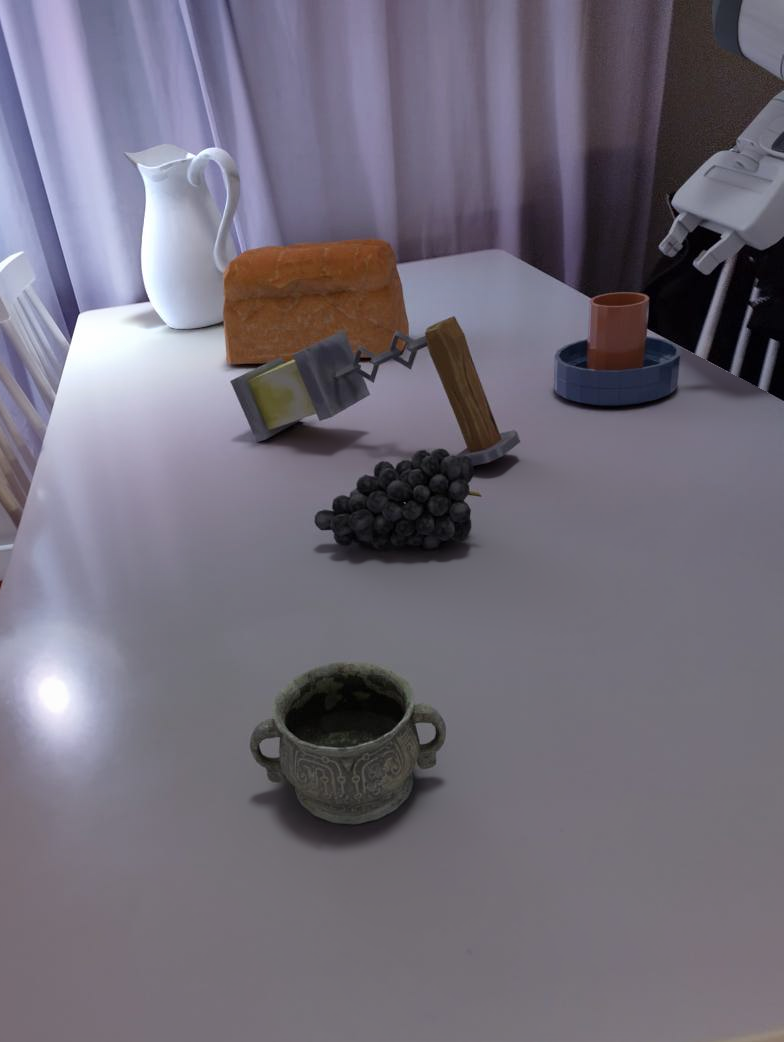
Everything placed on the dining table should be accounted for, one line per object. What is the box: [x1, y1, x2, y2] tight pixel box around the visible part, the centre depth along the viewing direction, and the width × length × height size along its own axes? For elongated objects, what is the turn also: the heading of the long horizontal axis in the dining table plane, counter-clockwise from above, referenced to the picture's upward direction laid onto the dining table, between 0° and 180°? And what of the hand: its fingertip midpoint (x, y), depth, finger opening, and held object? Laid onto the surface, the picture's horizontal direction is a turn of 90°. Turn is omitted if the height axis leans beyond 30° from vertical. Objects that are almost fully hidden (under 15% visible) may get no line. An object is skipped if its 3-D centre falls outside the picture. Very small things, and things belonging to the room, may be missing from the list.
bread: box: [223, 238, 410, 366], centre depth 138 cm, size 14×27×15 cm, turn 77°
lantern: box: [229, 315, 521, 467], centre depth 104 cm, size 8×17×30 cm
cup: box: [587, 291, 650, 370], centre depth 110 cm, size 6×6×10 cm
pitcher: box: [123, 143, 241, 330], centre depth 158 cm, size 24×17×28 cm
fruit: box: [314, 448, 483, 551], centre depth 84 cm, size 9×8×15 cm
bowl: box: [553, 335, 682, 407], centre depth 112 cm, size 14×14×4 cm
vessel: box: [249, 661, 447, 826], centre depth 57 cm, size 12×9×6 cm
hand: (681, 261), depth 107 cm, fingers open, 8 cm apart
